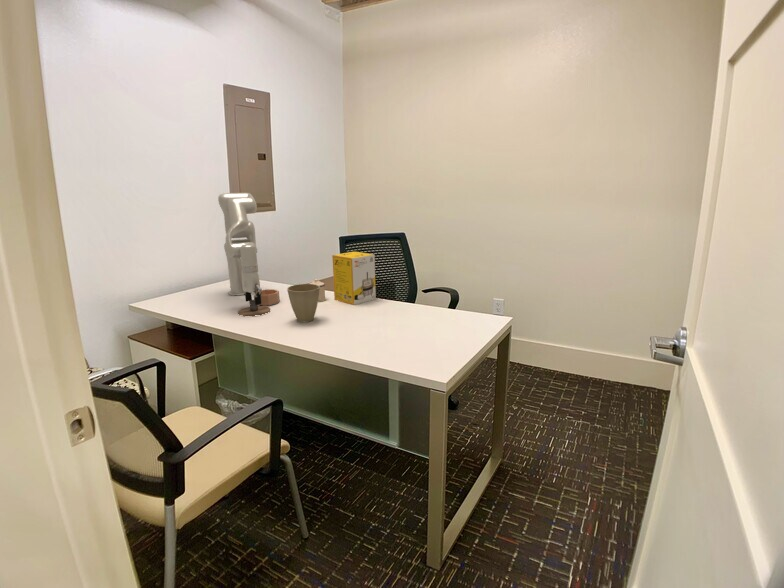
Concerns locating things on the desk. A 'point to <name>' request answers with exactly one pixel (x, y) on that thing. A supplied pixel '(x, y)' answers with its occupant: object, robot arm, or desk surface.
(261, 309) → the lid
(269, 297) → the bowl
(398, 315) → the desk surface
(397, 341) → the desk surface
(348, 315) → the desk surface
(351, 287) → the packaging box
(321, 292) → the teacup with lid
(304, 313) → the plant pot
